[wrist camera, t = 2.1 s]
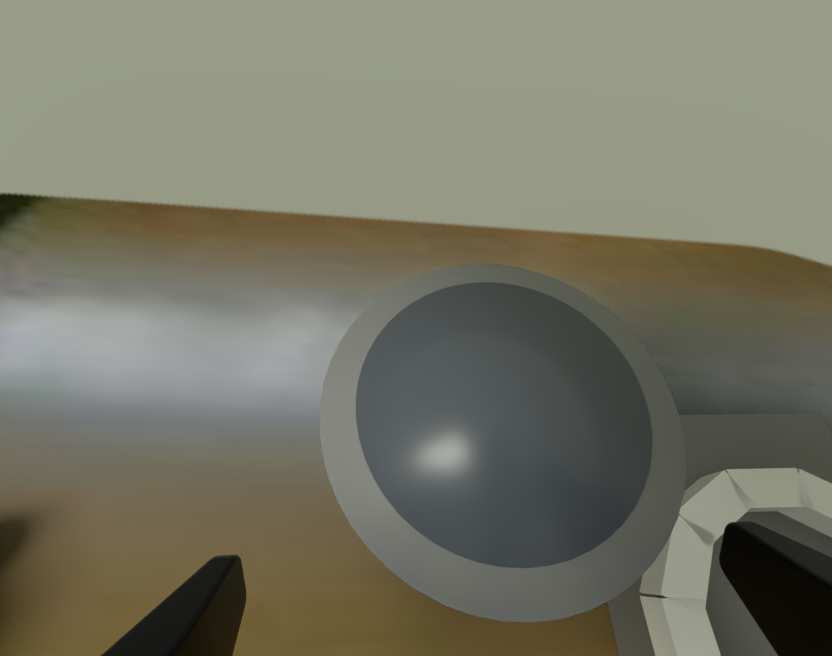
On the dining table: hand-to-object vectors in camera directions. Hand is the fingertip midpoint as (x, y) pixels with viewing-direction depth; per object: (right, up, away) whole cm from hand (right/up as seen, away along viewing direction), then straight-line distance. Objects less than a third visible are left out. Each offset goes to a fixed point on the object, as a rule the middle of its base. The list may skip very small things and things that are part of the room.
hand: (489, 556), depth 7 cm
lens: (0, -3, +9) cm, 10 cm away
